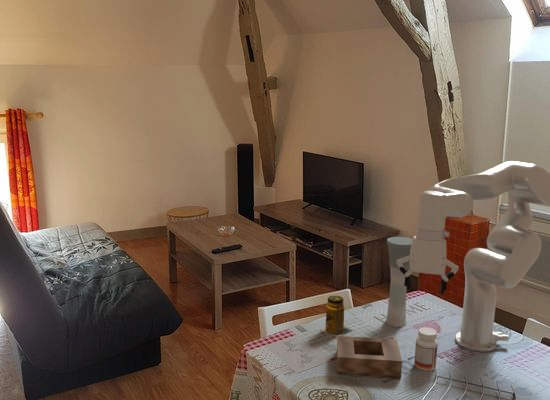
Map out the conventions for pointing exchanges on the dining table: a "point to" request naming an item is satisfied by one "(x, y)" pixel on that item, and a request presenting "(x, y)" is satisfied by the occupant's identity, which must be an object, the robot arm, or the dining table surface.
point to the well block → (368, 357)
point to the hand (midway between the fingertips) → (424, 290)
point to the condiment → (335, 317)
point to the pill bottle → (426, 349)
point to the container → (397, 281)
